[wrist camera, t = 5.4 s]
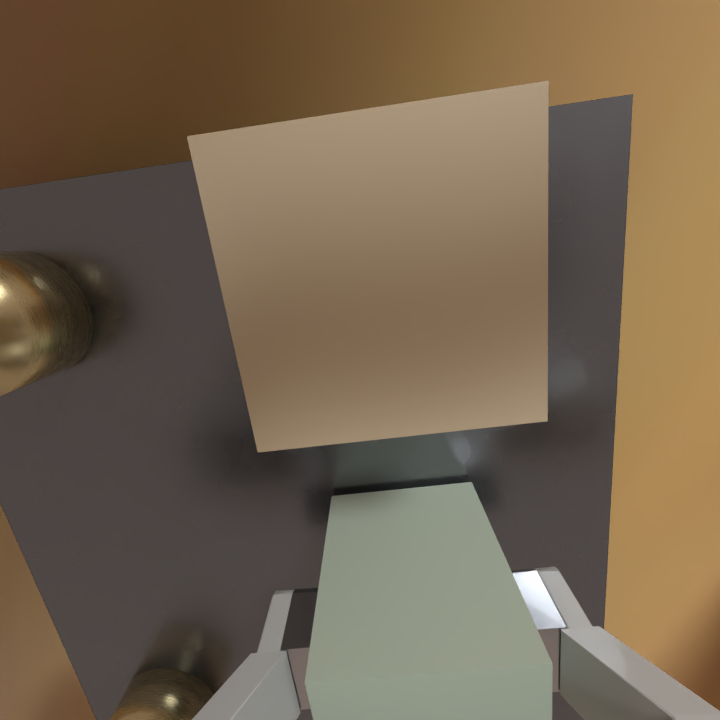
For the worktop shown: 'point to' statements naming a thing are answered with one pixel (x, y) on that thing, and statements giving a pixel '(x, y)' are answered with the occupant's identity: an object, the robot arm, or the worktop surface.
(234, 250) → the beige block
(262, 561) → the plate
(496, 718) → the pale green rectangular block
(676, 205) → the worktop surface
